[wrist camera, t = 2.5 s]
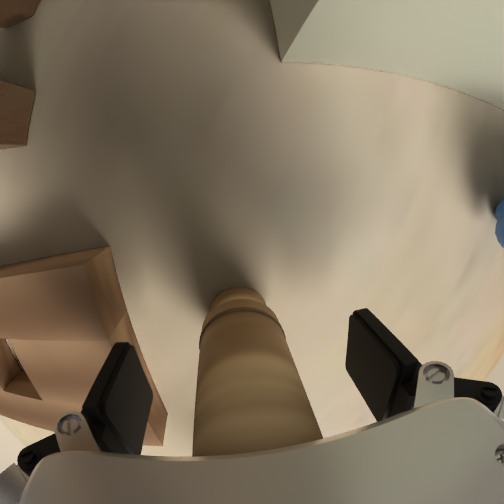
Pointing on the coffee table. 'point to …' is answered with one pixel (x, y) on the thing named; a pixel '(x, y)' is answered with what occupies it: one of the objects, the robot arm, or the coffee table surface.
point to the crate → (401, 39)
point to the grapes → (500, 222)
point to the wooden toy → (10, 95)
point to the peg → (247, 381)
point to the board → (63, 336)
